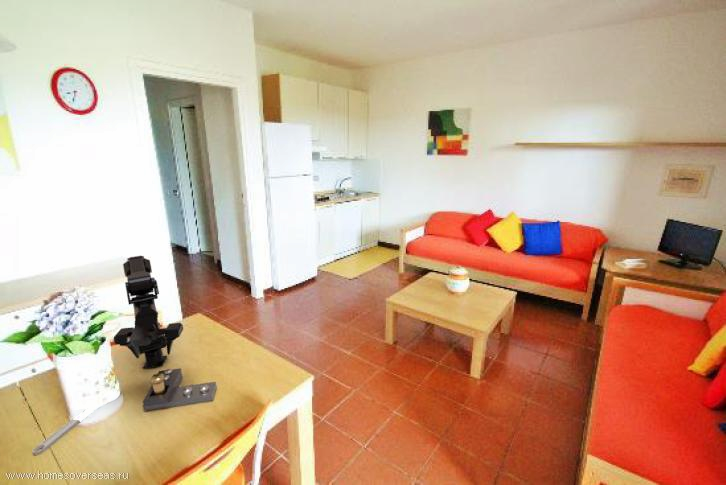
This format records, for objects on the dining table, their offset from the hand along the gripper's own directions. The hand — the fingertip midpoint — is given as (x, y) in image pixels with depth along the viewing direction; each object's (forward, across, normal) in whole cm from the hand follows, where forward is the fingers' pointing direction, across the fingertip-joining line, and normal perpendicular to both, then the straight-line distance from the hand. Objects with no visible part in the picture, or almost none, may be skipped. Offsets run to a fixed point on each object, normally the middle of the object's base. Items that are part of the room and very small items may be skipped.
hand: (153, 355), depth 114 cm
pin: (+12, +3, -8) cm, 15 cm away
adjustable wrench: (+13, -19, -10) cm, 25 cm away
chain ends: (+12, +9, -5) cm, 16 cm away
